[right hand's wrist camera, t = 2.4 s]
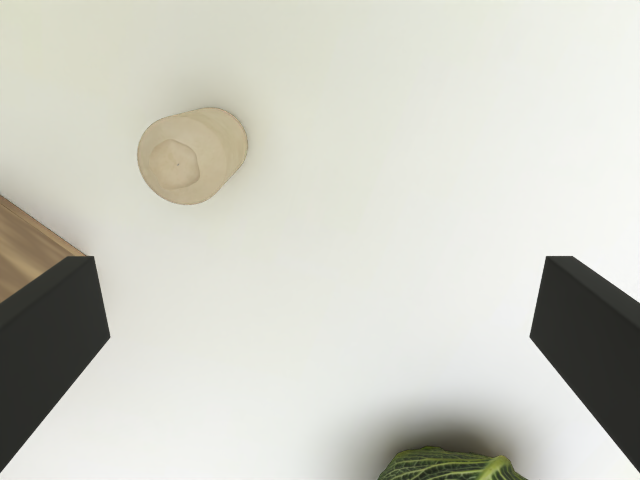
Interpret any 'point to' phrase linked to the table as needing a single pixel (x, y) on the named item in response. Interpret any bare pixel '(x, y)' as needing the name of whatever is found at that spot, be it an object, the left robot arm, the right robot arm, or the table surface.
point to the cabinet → (26, 249)
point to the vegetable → (447, 466)
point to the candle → (191, 154)
